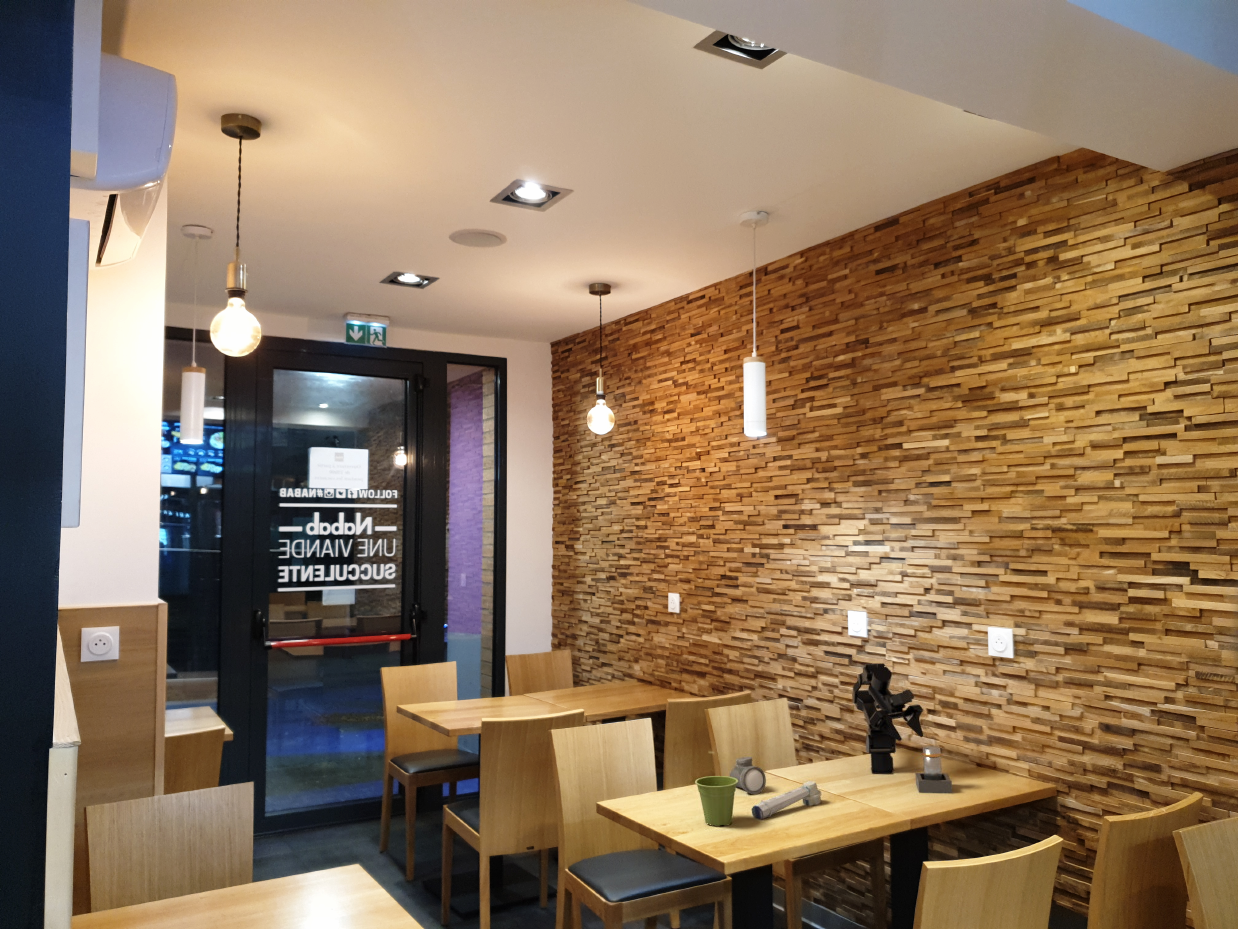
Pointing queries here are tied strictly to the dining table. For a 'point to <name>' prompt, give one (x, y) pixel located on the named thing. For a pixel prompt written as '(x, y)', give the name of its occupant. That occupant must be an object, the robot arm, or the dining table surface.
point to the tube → (932, 763)
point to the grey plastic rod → (788, 800)
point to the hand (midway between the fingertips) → (911, 738)
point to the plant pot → (717, 798)
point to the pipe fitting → (748, 776)
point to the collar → (933, 784)
